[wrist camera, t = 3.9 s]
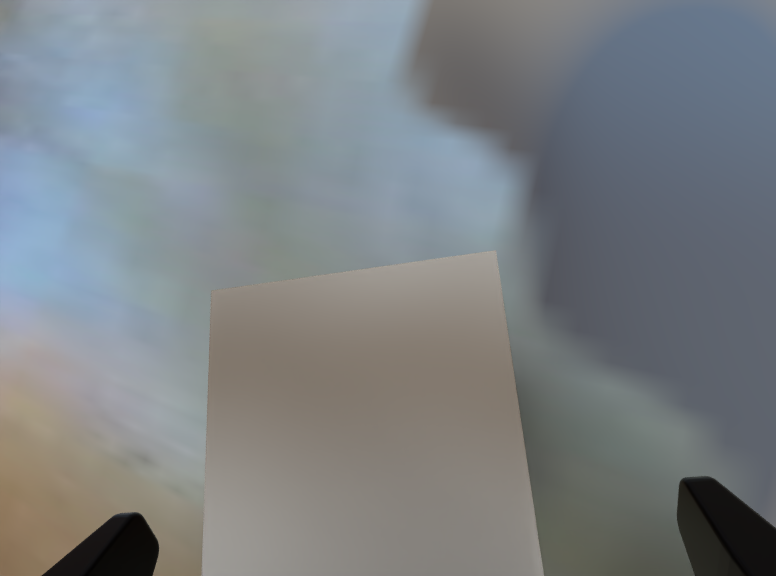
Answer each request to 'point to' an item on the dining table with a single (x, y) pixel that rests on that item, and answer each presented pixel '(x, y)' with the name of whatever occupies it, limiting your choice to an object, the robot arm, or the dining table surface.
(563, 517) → the dining table surface
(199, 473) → the dining table surface
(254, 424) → the brown rectangular block
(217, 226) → the dining table surface
